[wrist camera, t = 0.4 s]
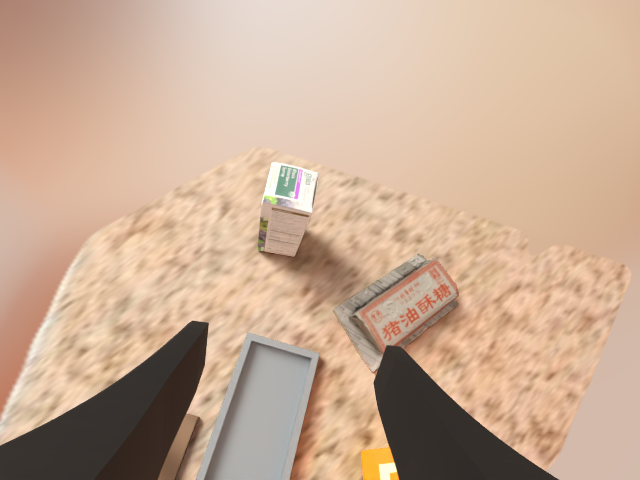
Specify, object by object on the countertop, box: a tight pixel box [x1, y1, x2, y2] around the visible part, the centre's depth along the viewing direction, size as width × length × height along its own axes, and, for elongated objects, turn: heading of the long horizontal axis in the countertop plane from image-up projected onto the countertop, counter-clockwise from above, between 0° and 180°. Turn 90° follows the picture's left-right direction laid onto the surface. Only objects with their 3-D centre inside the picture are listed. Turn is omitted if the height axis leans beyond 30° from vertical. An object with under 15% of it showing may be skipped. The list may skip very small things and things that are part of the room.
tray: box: [196, 332, 320, 480], centre depth 35 cm, size 17×10×2 cm, turn 165°
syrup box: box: [258, 162, 319, 257], centre depth 39 cm, size 6×6×14 cm
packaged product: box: [333, 254, 459, 372], centre depth 43 cm, size 18×5×10 cm
